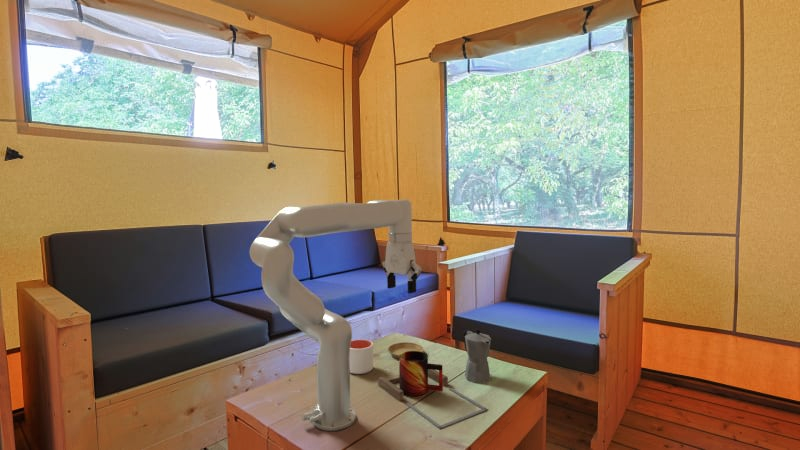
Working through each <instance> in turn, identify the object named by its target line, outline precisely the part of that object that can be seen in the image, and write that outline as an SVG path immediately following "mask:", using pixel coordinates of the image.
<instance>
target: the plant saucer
mask: <svg viewBox="0 0 800 450" xmlns="http://www.w3.org/2000/svg"><path fill="white" fill-rule="evenodd" d="M387 351H388V353H389V354H390V355H391V356H392V357H394V358H395V359H399V355H400V354H401V353H403V352H407V351H420V352H423V353H424V347H423V346H422V345H420V344H418V343H414V342H398V343H397V342H396V343H394V344H391V345H389V346H388V347H387Z"/></svg>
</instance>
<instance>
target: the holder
mask: <svg viewBox="0 0 800 450" xmlns="http://www.w3.org/2000/svg"><path fill="white" fill-rule="evenodd" d="M428 379H431V380H433V381H434V382H436V383H438V384H439V370H432V369H428ZM442 379H443V387H447V386H448V384H449V383H448V381H449V380H448V376H447V375H445V374H443V373H442ZM395 383H399V375H396V376H392V377H388V378H385V377H384V376H381V377H380V376H379V377H378V381H377V386H378V387H379V388H381V389H382V390H384V391H385V392H386V393H388V395H390V396H392V397H393V398H394V399H396V400H397V401H398V402H402V401H404V395H403V390H401V389H400V387H399V386H397V385H396V384H395Z"/></svg>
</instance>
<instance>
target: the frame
mask: <svg viewBox="0 0 800 450" xmlns="http://www.w3.org/2000/svg"><path fill="white" fill-rule="evenodd" d="M448 390H449V391H451V392H453V393H454V394H455V395H457V396H459V397H461V398H463V399H464V400H466V401H468V402H469V403H471V404H472V405H475V406H476V407H477V408H479V410H476V411H474V412H471V413H469V414H466V415H464V416H462V417H459V418H456V419H453V420H451V421H448V422H446V423H444V424H439V423H438V422H437V421H435V420H433V418H431V417H430V416H427V414H426V413H424V412H422V410H420V409H418V408H417V407H415V406H414V405H413V404H412V403H410V402H406V403H405V405H406V406H408V407H409V408H410V409H412V410H413V411H415V413H417V414H418V415H420V416H421V417H422V418H424V419H425V420H427V422H429V423H431V425H434V427H436V428H438V429H439V430H442V429H444V428H447V427H449V426H452V425H454V424H456V423H460V422H461V421H464V420H466V419H469V418H471V417H475V416H477V415H479V414H481V413H485V412H487V411H488V410H489V409H488V408H487V407H485V406H483V405H481V404H480V403H478V402H476V401H475V400H473V399H471V398H469V396H466V395H464V394H463V393H461V392H459V391H457V390H455V388H452V387H450V388H448Z"/></svg>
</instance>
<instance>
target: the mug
mask: <svg viewBox="0 0 800 450" xmlns="http://www.w3.org/2000/svg"><path fill="white" fill-rule="evenodd" d="M398 365H399V372H398V374H399V382H398V383H399V386H398V387H399V388H400V389H401V390H403V397H407V398H420V397H423V396H426V395H427V394H428V391H433V392H434V391H436V392H443V390H444V389H443V387H444V386H443V379H442V374H443V364H436V363H429V356H428V354H427V353H425V352H424V351H423V352H420V351H407V352H403V353H401V354H400V355H399V362H398ZM428 369H432V370H436V371H438V372H439V383H438V385H437V384H429V377H428Z"/></svg>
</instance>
